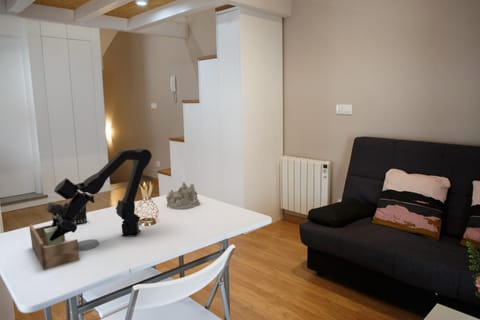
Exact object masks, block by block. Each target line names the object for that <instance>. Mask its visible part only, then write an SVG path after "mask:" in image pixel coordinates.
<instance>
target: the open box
mask: <svg viewBox="0 0 480 320" xmlns="http://www.w3.org/2000/svg"><path fill="white" fill-rule="evenodd" d="M51 225H52V224H49V225H44V226H41V227H35V226H34V225H33V224H29V227H28V228H29V232H30V233H29V234H30V241H31V248H32V250H33V252H34V254H35V255H36V257H37V260H38V262H39V264H40V265H41V268H42V270H47V269H51V268H55V267H58V266H61V265H62V266H63V265H65V264H69V263H73V262H76V261H79V260H80V259H81V257H80V250H79V248H78V242H79V241H78V239H73V240H68V241H66V234H64V235H62V236H61V239H62V243H59V244H55V245H51V246H47V247H46V241H45V234H44V229H47V228H50V227H51Z"/></svg>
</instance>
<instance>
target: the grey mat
mask: <svg viewBox="0 0 480 320" xmlns="http://www.w3.org/2000/svg"><path fill="white" fill-rule="evenodd" d="M99 245H100V241H99V240H98V239H85V240H80V241H78V248H79V251H88V250H92V249H95V248H96V247H98V246H99Z"/></svg>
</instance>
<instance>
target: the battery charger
mask: <svg viewBox="0 0 480 320" xmlns="http://www.w3.org/2000/svg"><path fill="white" fill-rule="evenodd" d="M80 212H81V214H80V215H79V214H78V215H77V216H76V218H75V219H74V221H75V222H74V223H75V224H76V225H81V224H86V223H88V218H87V204H86V205H85V206H84V208H83V209H82V210H81V211H80Z"/></svg>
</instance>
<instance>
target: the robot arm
mask: <svg viewBox="0 0 480 320" xmlns="http://www.w3.org/2000/svg"><path fill="white" fill-rule="evenodd" d="M152 157H153V156H152V152H151V151H150V150H148V149H145V148H143V147H138V148H137V149H128V150H125V149H121V150H119V151H118V153H116V154H115V156H114V157H113V158H111V159H110V160H109V161H108V162H107V163H106V164H105V165H104V166H103V167H102V168H101V169H100V170H99V171H98V172H95V174H92V175H91V176H89V177H87V178H86V179H84V181H83V182H80V183H76V184H75V183H73V182H72V181H71V180H70V179H69V178H67V177H65V178H64V179H63V180H61V181H60V182H59V183H58V184H57V185H56V186H55V188H54V190H53V192H54V193H55V194H57V195H59V196H60V197H62V198H63V199H65V200H70V201H68V202H65V203H64V204H60V203H56V202H49V203H48V204H47V208H46V211H47V213H50V214H51V220H52V223H51V224H50V225H51V227H56V226H57V228H56V229H55V231H54V233H53V234H52V236H51V238H50V240H51V241H53V240H55V239H57V238H58V237H60V236H62V235H64V234H65V235H66V234H69V233H74V234H75V232H76V231H77V229H78V227H77V225H76V224H75V223H74V222H75V221H74V219H75V218H76V216H77V215H78V214H79V215H80V214H81V212H80V211H81V210H82V209H83V208H84V206H85V205H86V206H87V204H88V203H89V202H91V203H93V204H94V203H95V198H94V197H95V196H94V195H96V194H98V193H99V192H100V191H101V190H102V188H103V187H104V185H105V183H106V181H107V180H108V178H110V177H111V176H112V174H114V173H115V172H116V171H117V170H118V169H119V168H120V166H122V165H123V164H124V163H125V162H126V161H127V160H128V161H132V165H133V167H132V170H131V174H130V177H129V181H128V183H127V186H126V187H127V188H126V190H125V193H124V197H123V198H122V200H119V199H118V201H117V204H116V206H115V209H116V210H115V211H116V214H117V216H118V217H120V218H121V220H123V221H122V222H121V223H122V224H121V233H122V235H121V236H122V237H137V236H138V235H139V234H140V232H141V229H140V224H139V222H140V218H141V216H139V215H138V214H136V213H135V211H136V203H135V199H136V196H137V193H138V190H139V187H140V183H141V180H142V177H143V175H144V174H143V173H144V171H145V169H146V168H147V166H148V165H149V164H150V161H151V159H152ZM89 194H90V195H89ZM51 227H50V228H51Z"/></svg>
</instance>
